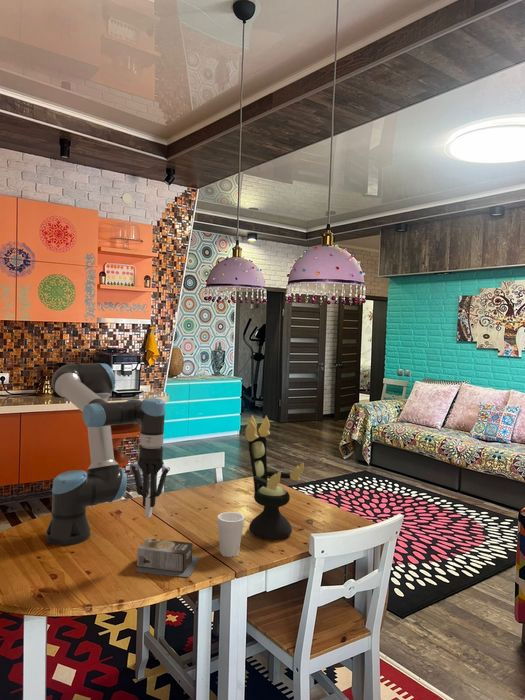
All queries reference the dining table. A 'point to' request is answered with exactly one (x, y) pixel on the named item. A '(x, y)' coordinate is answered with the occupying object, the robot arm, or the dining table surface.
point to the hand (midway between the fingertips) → (148, 515)
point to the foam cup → (230, 532)
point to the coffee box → (164, 554)
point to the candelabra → (268, 486)
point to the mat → (169, 572)
